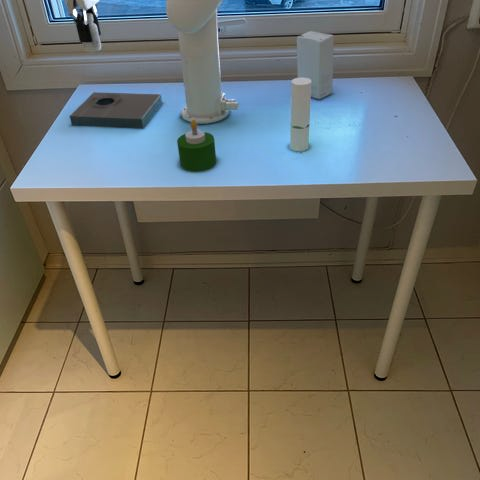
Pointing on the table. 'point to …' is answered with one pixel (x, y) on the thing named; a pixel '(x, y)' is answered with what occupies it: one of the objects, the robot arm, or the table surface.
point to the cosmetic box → (316, 61)
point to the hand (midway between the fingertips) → (90, 37)
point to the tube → (300, 113)
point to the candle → (196, 149)
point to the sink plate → (116, 110)
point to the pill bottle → (96, 42)
